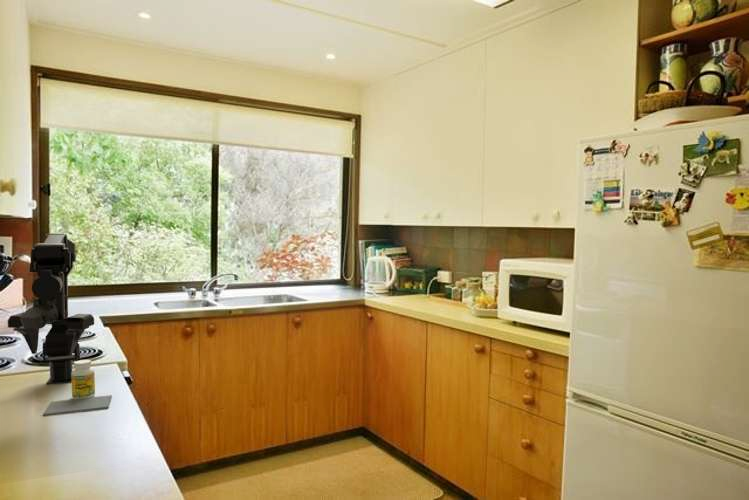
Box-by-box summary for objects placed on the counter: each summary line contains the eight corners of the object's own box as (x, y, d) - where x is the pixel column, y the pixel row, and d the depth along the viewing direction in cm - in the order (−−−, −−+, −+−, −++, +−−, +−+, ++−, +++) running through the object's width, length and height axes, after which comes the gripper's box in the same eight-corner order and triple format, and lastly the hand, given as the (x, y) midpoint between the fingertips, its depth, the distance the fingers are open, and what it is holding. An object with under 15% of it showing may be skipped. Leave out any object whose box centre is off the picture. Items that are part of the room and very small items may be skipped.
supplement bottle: (94, 392, 139) (93, 357, 139) (95, 397, 135) (95, 362, 134) (71, 395, 136) (70, 360, 136) (72, 401, 132) (71, 365, 132)
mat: (50, 403, 130) (50, 401, 130) (111, 397, 136) (111, 395, 136) (43, 415, 122) (43, 413, 122) (108, 408, 127) (108, 406, 127)
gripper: (-11, 297, 119) (-9, 362, 120) (68, 299, 119) (69, 364, 120) (22, 290, 130) (24, 350, 131) (94, 292, 130) (95, 351, 131)
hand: (52, 354), depth 128 cm, fingers open, 9 cm apart
